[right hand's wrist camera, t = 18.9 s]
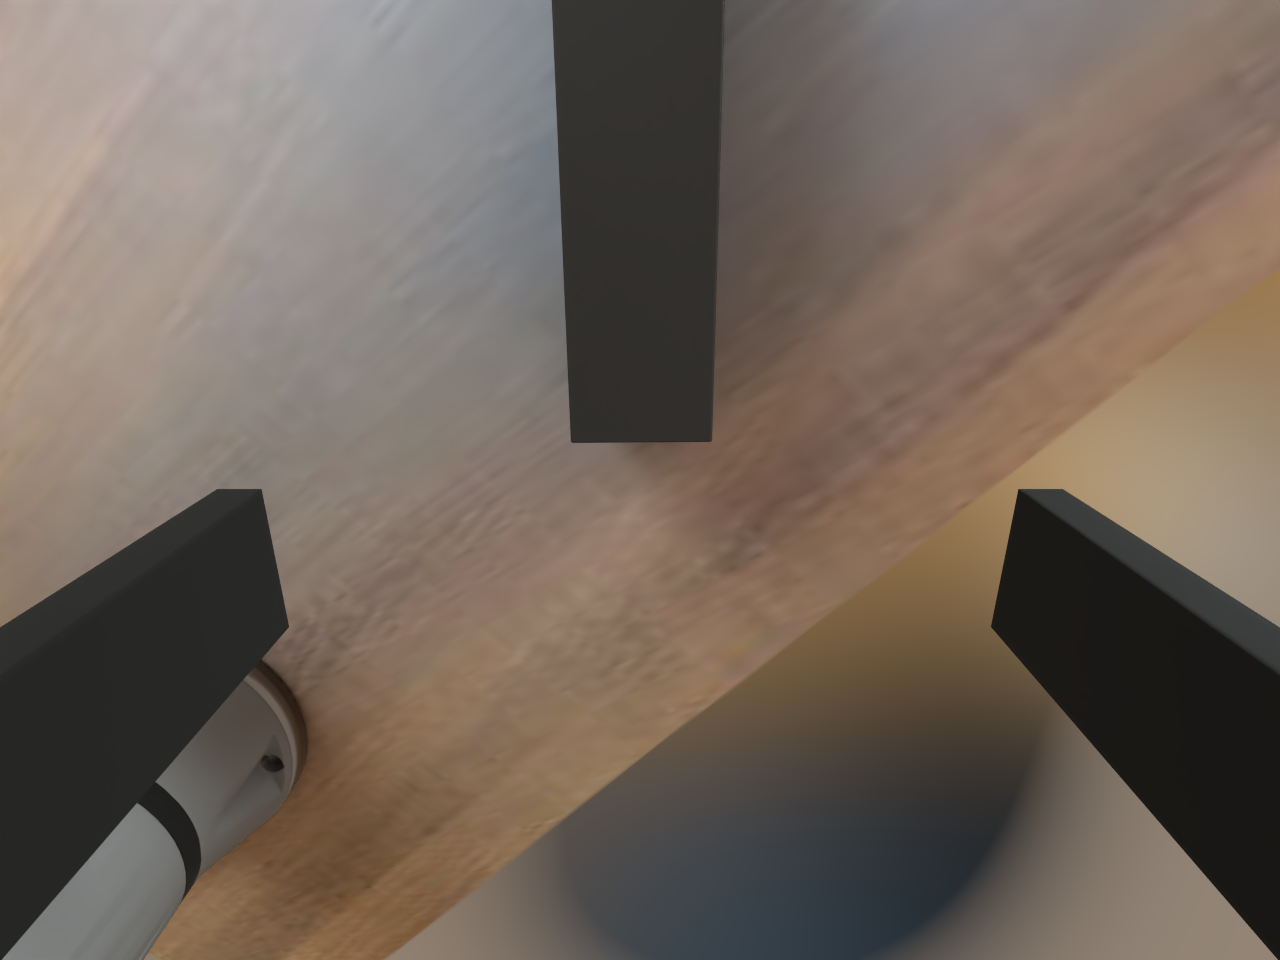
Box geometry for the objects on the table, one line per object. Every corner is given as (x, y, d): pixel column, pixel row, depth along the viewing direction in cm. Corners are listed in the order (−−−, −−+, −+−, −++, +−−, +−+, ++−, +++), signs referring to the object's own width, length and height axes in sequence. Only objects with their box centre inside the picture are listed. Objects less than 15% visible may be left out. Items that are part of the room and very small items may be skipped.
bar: (695, 392, 38) (712, 442, 29) (586, 393, 38) (570, 443, 29) (708, -233, 29) (737, -422, 20) (564, -232, 29) (533, -421, 20)
